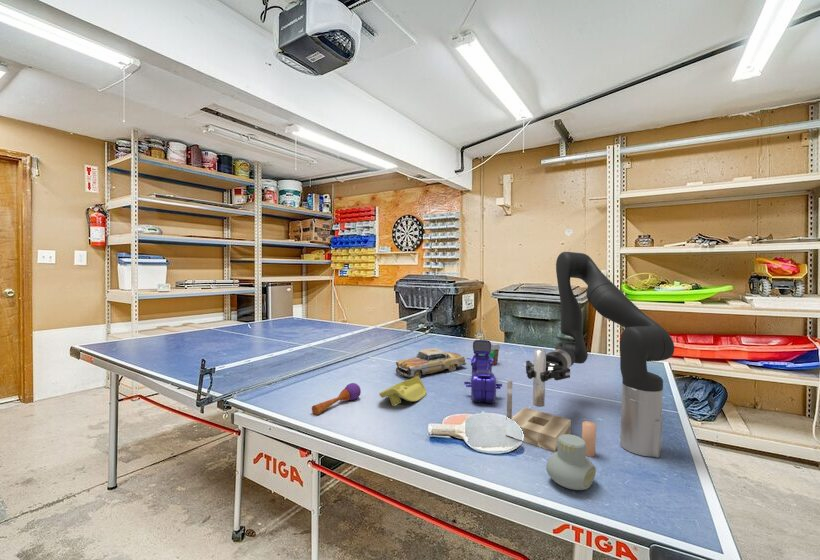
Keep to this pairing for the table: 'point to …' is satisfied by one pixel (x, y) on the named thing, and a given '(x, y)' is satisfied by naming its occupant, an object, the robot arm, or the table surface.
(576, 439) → the air freshener
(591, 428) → the terracotta pin
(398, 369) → the car
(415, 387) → the plastic component
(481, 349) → the motorcycle
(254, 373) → the table surface
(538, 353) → the steel pin
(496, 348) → the food container
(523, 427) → the socket block
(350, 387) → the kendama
